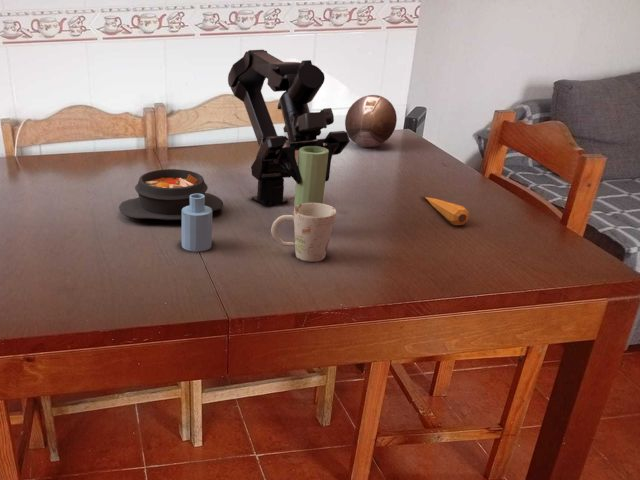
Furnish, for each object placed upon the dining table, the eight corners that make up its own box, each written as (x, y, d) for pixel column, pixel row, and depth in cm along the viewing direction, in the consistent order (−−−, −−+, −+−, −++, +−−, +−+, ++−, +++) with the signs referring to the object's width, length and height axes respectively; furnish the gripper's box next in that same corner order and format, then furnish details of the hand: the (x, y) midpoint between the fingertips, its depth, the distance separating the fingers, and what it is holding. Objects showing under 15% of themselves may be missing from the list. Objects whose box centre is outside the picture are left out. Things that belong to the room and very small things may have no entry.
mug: (330, 265, 140) (336, 218, 135) (267, 261, 142) (270, 214, 137) (331, 249, 147) (336, 204, 142) (271, 245, 149) (274, 200, 144)
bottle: (176, 243, 150) (176, 194, 144) (201, 238, 153) (202, 189, 147) (191, 253, 145) (191, 203, 140) (216, 247, 148) (218, 197, 142)
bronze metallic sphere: (343, 152, 209) (349, 100, 201) (341, 139, 221) (347, 89, 214) (394, 154, 207) (403, 101, 199) (390, 140, 219) (397, 91, 211)
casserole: (208, 195, 176) (209, 162, 172) (234, 220, 161) (236, 185, 157) (111, 205, 170) (110, 171, 166) (129, 232, 155) (127, 196, 151)
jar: (289, 206, 154) (294, 147, 147) (312, 203, 156) (319, 144, 149) (302, 215, 149) (308, 155, 142) (327, 212, 151) (334, 152, 144)
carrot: (465, 230, 157) (475, 212, 156) (448, 223, 156) (459, 205, 154) (427, 208, 175) (436, 191, 173) (412, 202, 174) (421, 185, 172)
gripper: (268, 97, 141) (285, 166, 138) (351, 91, 145) (370, 159, 142) (252, 127, 152) (267, 192, 149) (330, 121, 156) (347, 184, 153)
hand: (313, 181), depth 148 cm, fingers closed on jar, 6 cm apart
